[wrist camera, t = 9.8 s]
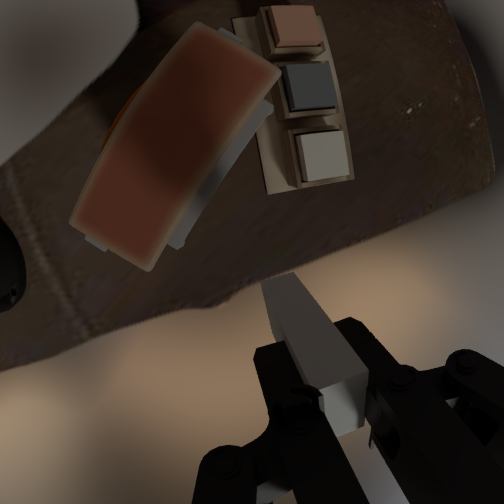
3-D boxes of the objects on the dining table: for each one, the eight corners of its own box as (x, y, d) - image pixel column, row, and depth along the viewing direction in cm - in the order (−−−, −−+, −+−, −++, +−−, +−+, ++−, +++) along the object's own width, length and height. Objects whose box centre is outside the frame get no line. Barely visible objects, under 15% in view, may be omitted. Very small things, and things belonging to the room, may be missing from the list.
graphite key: (285, 113, 31) (295, 107, 27) (277, 74, 29) (285, 64, 25) (324, 109, 31) (338, 104, 27) (316, 72, 29) (329, 63, 26)
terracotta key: (272, 52, 28) (280, 41, 24) (264, 19, 26) (270, 5, 23) (311, 50, 28) (323, 40, 25) (302, 18, 27) (312, 5, 23)
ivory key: (297, 178, 33) (308, 181, 30) (289, 137, 32) (300, 135, 28) (334, 172, 34) (349, 174, 30) (328, 132, 32) (342, 130, 28)
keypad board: (267, 194, 36) (275, 199, 31) (231, 20, 27) (235, 4, 23) (353, 178, 36) (370, 182, 32) (319, 16, 28) (331, 3, 24)
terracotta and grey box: (135, 190, 33) (203, 87, 30) (182, 219, 35) (251, 117, 32) (48, 237, 13) (200, -2, 10) (153, 302, 15) (312, 64, 12)
